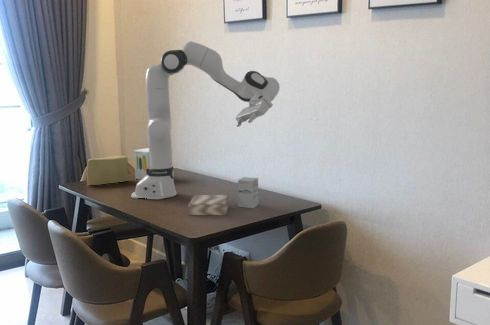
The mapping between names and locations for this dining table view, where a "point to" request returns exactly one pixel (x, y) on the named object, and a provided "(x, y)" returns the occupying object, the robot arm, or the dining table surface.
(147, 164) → the supplement box
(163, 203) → the dining table surface
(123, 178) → the cheese
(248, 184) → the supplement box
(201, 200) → the block
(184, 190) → the dining table surface
